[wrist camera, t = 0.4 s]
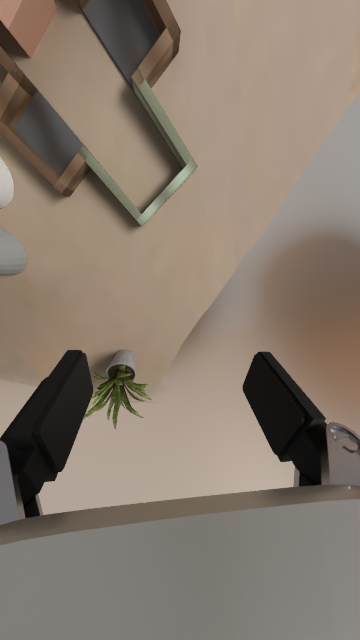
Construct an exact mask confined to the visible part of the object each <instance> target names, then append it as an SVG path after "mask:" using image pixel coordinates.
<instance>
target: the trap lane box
mask: <svg viewBox="0 0 360 640" xmlns="http://www.w3.org/2000/svg"><path fill="white" fill-rule="evenodd" d="M76 2H77V3H78V5H79V7H80V8H81V10H82V11H83V13H84V14H85V16H86V18H87V19H88V21H89V22H90V24H91V25H92V27H93V28H94V30H95V32H96V33H97V35H98V36H99V38H100V39H101V41H102V42H103V44H104V46H105V47H106V49H107V50H108V52H109V53H110V55H111V56H112V58H113V60H114V61H115V63H116V64H117V66H118V67H119V69H120V70H121V72H122V74H123V75H124V77H125V78H126V80H127V81H128V83H129V85H130V86H131V88H132V89H133V91H134V92H135V94H136V95H137V97H138V99H139V100H140V102H141V103H142V105H143V106H144V108H145V109H146V111H147V113H148V114H149V116H150V117H151V119H152V120H153V122H154V123H155V125H156V127H157V128H158V130H159V131H160V133H161V134H162V136H163V138H164V139H165V141H166V142H167V144H168V145H169V147H170V148H171V150H172V152H173V153H174V155H175V156H176V158H177V159H178V161H179V162H180V164H181V166H182V167H183V170H182V171H181V172H180V173H179V174H178V175H177V176H176V177H175V178H174V179H173V181H172V182H171V183H170V184H169V185H168V186H167V187H166V188H165V189H164V190H163V192H162V193H161V194H160V195H159V196H158V197H157V198H156V199H155V200H154V201H153V202H152V204H151V205H150V206H149V207H148V208H147V209H146V210H145V211H144V212H143V213H142V214H141V213H140V211H139V210H138V209H137V208H136V207H135V205H134V204H133V203H132V202H131V201H130V199H129V198H128V197H127V196H126V195H125V194H124V192H123V191H122V190H121V189H120V188H119V186H118V185H117V184H116V183H115V182H114V180H113V179H112V178H111V177H110V176H109V174H108V173H107V172H106V171H105V170H104V168H103V167H102V166H101V165H100V164H99V162H98V161H97V160H96V159H95V158H94V157H93V155H92V154H91V153H90V152H89V151H88V149H87V148H86V147H85V146H84V145H83V143H82V142H81V141H80V140H79V139H78V137H77V136H76V135H75V134H74V133H73V131H72V130H71V129H70V128H69V127H68V126H67V124H66V123H65V122H64V121H63V120H62V118H61V117H60V116H59V115H58V114H57V112H56V111H55V110H54V109H53V108H52V106H51V105H50V104H49V103H48V102H47V100H46V99H45V98H44V97H43V96H42V94H41V93H40V92H39V91H38V90H37V89H36V87H35V86H34V85H33V84H32V83H31V81H30V80H29V79H28V78H27V77H26V75H25V74H24V73H23V72H22V71H21V69H20V68H19V67H18V66H17V65H16V63H15V62H14V61H13V60H12V59H11V57H10V56H9V55H8V54H7V53H6V52H5V50H4V49H3V48H2V47H1V46H0V63H1V65H2V66H3V67H4V68H5V69H6V70H7V72H8V74H7V76H6V78H5V80H4V81H3V83H2V85H1V87H0V133H1V134H2V135H3V136H4V137H5V138H6V139H7V140H8V141H9V142H10V143H11V144H12V145H13V146H14V147H15V148H16V149H17V150H18V151H19V152H20V153H21V154H22V155H23V156H24V157H25V158H26V159H27V160H28V161H29V162H30V163H31V164H32V165H33V166H34V167H35V168H36V169H37V170H38V171H39V172H40V173H41V174H42V175H43V176H44V177H45V178H46V179H47V180H48V181H49V182H50V183H51V184H52V185H53V186H54V187H55V188H56V189H57V190H58V191H59V192H60V193H61V194H64V195H67V196H71V194H72V193H73V192H74V190H75V189H76V188H77V186H78V185H79V184H80V182H81V181H82V180H83V178H84V177H85V176H86V174H87V173H88V172H89V170H90V169H91V168H92V170H93V171H94V172H95V173H96V174H97V175H98V176H99V178H100V179H101V180H102V181H103V182H104V183H105V185H106V186H107V187H108V188H109V189H110V190H111V191H112V193H113V194H114V195H115V196H116V197H117V198H118V200H119V201H120V202H121V203H122V204H123V205H124V206H125V208H126V209H127V210H128V211H129V212H130V213H131V215H132V216H133V217H134V218H135V219H136V220H137V221H138V223H139V224H140V225H141V226H143V225H144V224H145V223H146V222H147V221H148V220H149V219H150V218H151V217H152V216H153V215H154V214H155V213H156V212H157V211H158V209H159V208H160V207H161V206H162V205H163V204H164V203H165V202H166V201H167V200H168V199H169V198H170V197H171V196H172V195H173V193H174V192H175V191H176V190H177V189H178V188H179V187H180V186H181V185H182V184H183V183H184V182H185V181H186V180H187V179H188V178H189V176H190V175H191V174H192V173H193V172H194V171H195V170H196V168H197V167H198V166H197V164H196V163H195V161H194V159H193V158H192V156H191V154H190V153H189V151H188V149H187V148H186V146H185V144H184V143H183V141H182V139H181V138H180V136H179V134H178V133H177V131H176V130H175V128H174V126H173V125H172V123H171V121H170V120H169V118H168V116H167V115H166V113H165V111H164V110H163V108H162V106H161V105H160V103H159V101H158V100H157V98H156V96H155V95H154V93H153V91H152V90H151V88H152V87H153V85H154V84H155V83H156V81H157V80H158V79H159V77H160V76H161V75H162V73H163V72H164V71H165V69H166V68H167V67H168V65H169V64H170V63H171V61H172V60H173V59H174V57H175V56H176V55H177V53H178V51H179V42H180V33H181V30H180V28H179V26H178V24H177V22H176V20H175V18H174V16H173V14H172V12H171V9H170V7H169V5H168V3H167V1H166V0H76Z"/></svg>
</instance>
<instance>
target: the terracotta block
mask: <svg viewBox="0 0 360 640" xmlns="http://www.w3.org/2000/svg"><path fill="white" fill-rule="evenodd" d="M56 10H57V6H56V4H55V2H54V0H0V21H1V22H2V23H3V24H4V26H5V27H6V28H7V29H8V31H9V32H10V33H11V34H12V36H13V37H14V38H15V39H16V41H17V42H18V43H19V44H20V46H21V47H22V48H23V49H24V51H25V52H26V53H27V54H28V56H29V57H30V58H31V56H32V54H33V53H34V51H35V49H36V47H37V45H38V43H39V41H40V40H41V38H42V36H43V34H44V32H45V30H46V29H47V27H48V25H49V23H50V21H51V19H52V18H53V16H54V14H55V12H56Z"/></svg>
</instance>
